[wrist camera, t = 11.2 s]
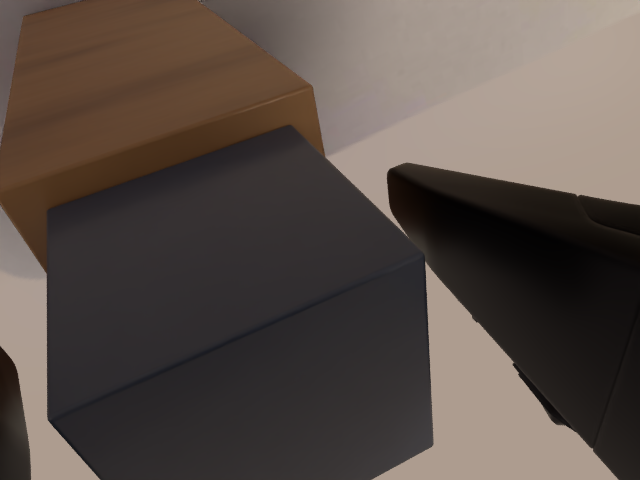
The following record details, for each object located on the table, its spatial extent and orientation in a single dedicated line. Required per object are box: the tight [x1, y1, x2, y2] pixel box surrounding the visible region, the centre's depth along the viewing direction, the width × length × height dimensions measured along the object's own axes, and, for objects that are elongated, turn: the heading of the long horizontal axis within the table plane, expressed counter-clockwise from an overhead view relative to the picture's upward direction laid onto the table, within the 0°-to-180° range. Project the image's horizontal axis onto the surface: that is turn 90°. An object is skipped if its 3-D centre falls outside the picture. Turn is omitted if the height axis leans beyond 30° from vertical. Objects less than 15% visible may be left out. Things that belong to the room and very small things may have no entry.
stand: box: [0, 0, 325, 273], centre depth 14 cm, size 5×5×13 cm
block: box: [47, 125, 433, 480], centre depth 8 cm, size 4×4×4 cm
